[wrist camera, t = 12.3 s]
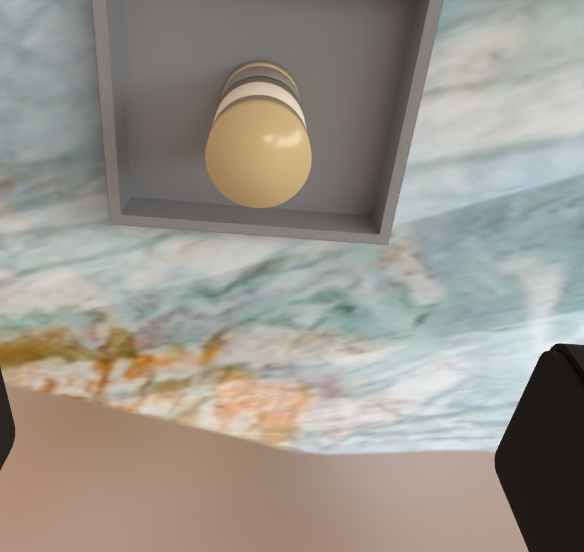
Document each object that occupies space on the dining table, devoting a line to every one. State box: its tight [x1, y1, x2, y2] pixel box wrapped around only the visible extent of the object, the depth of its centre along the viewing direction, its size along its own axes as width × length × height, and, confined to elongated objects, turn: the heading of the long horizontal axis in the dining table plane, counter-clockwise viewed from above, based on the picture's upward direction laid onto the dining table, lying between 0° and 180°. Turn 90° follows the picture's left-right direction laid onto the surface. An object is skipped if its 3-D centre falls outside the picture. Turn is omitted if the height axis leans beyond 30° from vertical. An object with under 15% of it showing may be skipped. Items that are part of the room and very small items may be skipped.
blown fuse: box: [205, 60, 312, 208], centre depth 24 cm, size 4×4×9 cm
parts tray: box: [92, 0, 443, 245], centre depth 27 cm, size 15×13×3 cm
